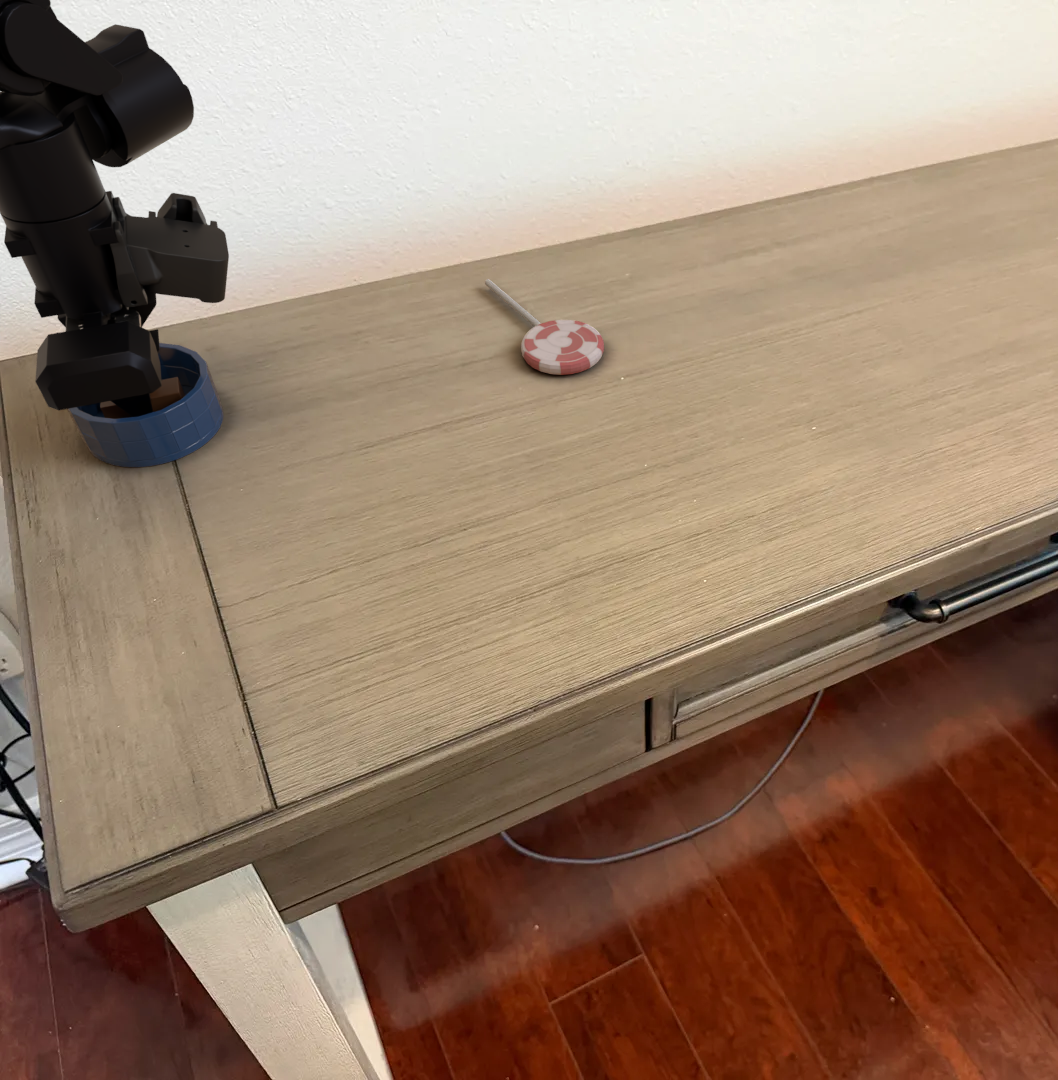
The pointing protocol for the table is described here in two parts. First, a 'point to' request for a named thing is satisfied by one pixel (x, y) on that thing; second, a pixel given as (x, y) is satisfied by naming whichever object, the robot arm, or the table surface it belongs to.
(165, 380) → the tall brown square pillar
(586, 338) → the lollipop
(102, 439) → the bowl
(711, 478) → the table surface
